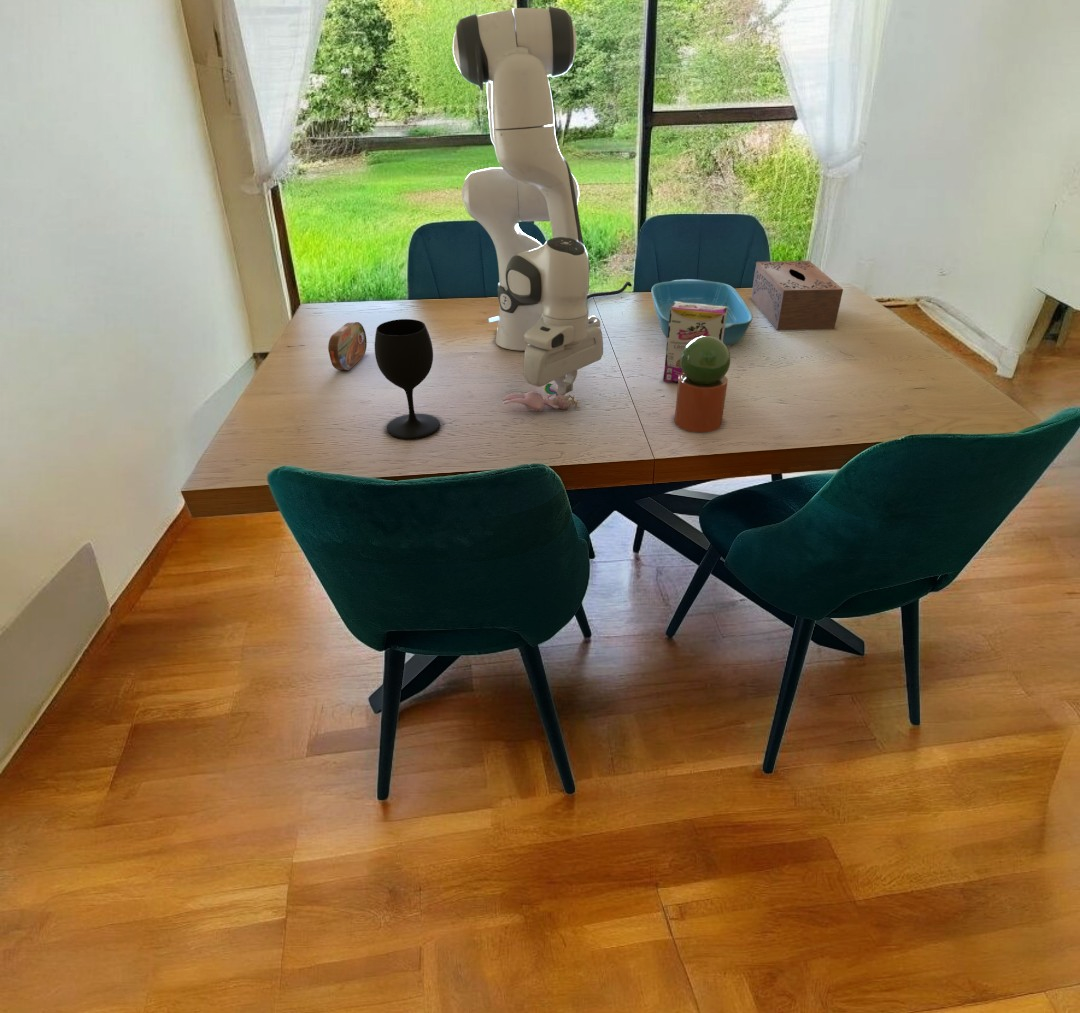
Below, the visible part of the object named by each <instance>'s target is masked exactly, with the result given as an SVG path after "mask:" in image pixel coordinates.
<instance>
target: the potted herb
mask: <svg viewBox="0 0 1080 1013" xmlns="http://www.w3.org/2000/svg"><path fill="white" fill-rule="evenodd" d="M680 365H681V369H682V372H683V373H681V374H680V375H679V379H678V383H677V390H676V391H677V392H676V401H675V410H674V424H675V425H676V426H677V427H679V428H681V430H685V431H688V432H691V433H711V432H715V431H717V430H719V429H720V427H722V425H723V417H724V411H725V403H726V396H727V389H728V382H729V381H728V380H729V378H727V376H726V375H727V373H728V371H729V369H730V366H731V353H730V351H729V348H728V346H726V345H725V344H724V343H723V342H722V341H721V340H719V339H718V338H715V337H712V336H701V337H697V338H695V339H693V340H692V341H690V342H689V343H688V344H687V345H686V346H685V348H684V350H683V352H682V354H681V359H680Z"/></svg>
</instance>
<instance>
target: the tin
mask: <svg viewBox="0 0 1080 1013" xmlns="http://www.w3.org/2000/svg"><path fill="white" fill-rule="evenodd" d="M367 343H368V342H367V334H366V330H365V327H364V326H363V324H362V323H360V322H359V321H355V322H354V321H353V322H346V323H345V324H344V325H342V326H341V327H340V328H339V329H337V330H336V331H335V332H334V333H333V334H332V335H331V336H330V338H329V340H328V345H327V350H328V354H329V359H330V362H331V365H332V367H333V368H334V369H335V370H338V371H350V370H351V369H352V368H353V367H355V365H356V364H358V362H360V361H361V360H362V358H363V357H364V356H365V355H366V352H367Z"/></svg>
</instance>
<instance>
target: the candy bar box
mask: <svg viewBox="0 0 1080 1013" xmlns="http://www.w3.org/2000/svg"><path fill="white" fill-rule="evenodd" d="M726 316H727V307H726V306H716V305H706V304H696V303H687V302H677V301H674V304H673V306H671V309H670V318H669V328H668V338H667V337H666V339H667V340H666V349H665V350H666V351H665V360H664V369H663V370H664V371H663V382H665V383H666V382H667V383H672V384H678V379H679V375H680V374H681V373H683V372H682V369H681V365H680V359H681V354H682V352H683V350H684V348H685V346H686V345H687V344H688V343H689V342H690V341H692V340H693V339H695V338H697V337H701V336H712V337H715V338H718V339H719V340H721V341H722V342H723V336H724V329H725V322H726Z"/></svg>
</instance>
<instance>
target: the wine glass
mask: <svg viewBox="0 0 1080 1013" xmlns="http://www.w3.org/2000/svg"><path fill="white" fill-rule="evenodd" d="M374 356H375V361H376V364H377V367H378V369H379V371H380V373H381V374H382V375H383V376H384V378H385V379H386V380H387V381H389V382H390V383H392V384H393V385H394V386H397V387H398V388H400V389H403V390H404V392H405V395H406V396H405V397H406V401H407V406H408V414H403V415H400V416H397V417H395V418H394V419H391V420H390V421H389V422H388V423H387V425H386V432H387V434H388V435H390V437H392V438H395V439H399V440H406V441H408V440H409V441H413V440H420V439H424V438H428V437H431V436H432V435H434V434H435V433H437V432H438V431H439V430H440V428H441V422H440V420H439V419H438V418H437V417H436V416H433V415H431V414H428V413H415V412H416V411H415V406H414V390H415V388H416V387H418V386H419V385H420V384H421V383H422V382H423V381H424V380H425V379H426V378H427V376H428V375H429V373H430V371H431V369H432V365H433V361H434V348H433V343H432V339H431V335H430V333H429V331H428V328H427V326H426V324H425V322H423V321H421V320H418V319H413V318H411V319H410V318H402V319H401V318H400V319H393V320H392V319H391V320H389V321H384V322H382V323H379V325H377V327H376V329H375V336H374Z"/></svg>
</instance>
